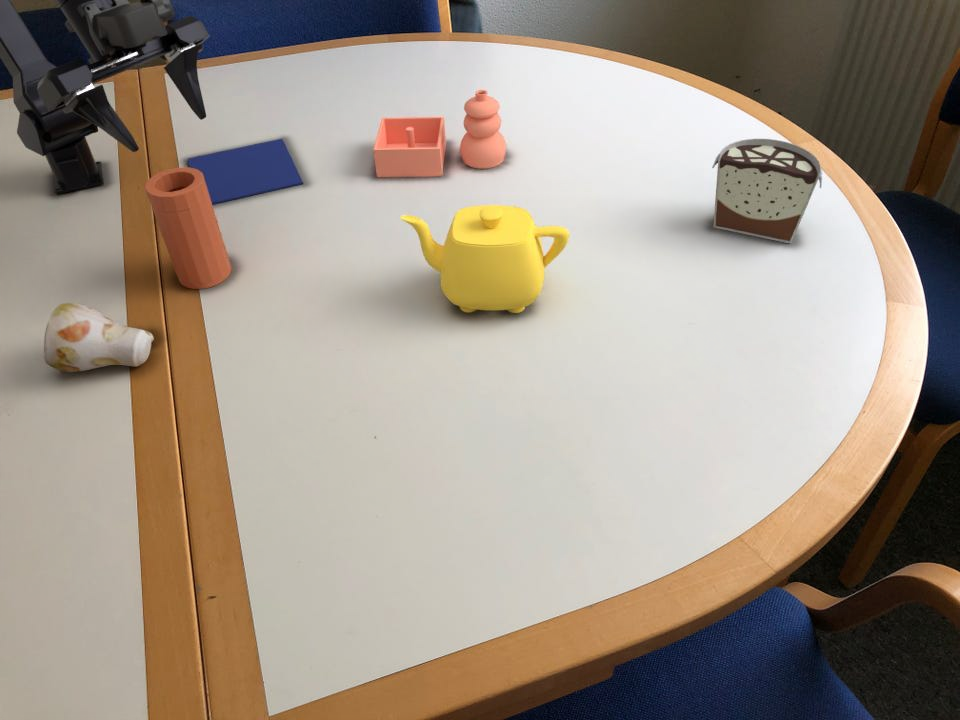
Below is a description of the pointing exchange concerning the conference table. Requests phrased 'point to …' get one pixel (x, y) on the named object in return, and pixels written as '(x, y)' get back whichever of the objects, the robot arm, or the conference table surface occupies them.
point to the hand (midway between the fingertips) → (171, 134)
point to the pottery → (439, 141)
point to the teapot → (491, 257)
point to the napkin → (247, 170)
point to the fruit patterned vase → (91, 340)
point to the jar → (189, 227)
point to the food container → (764, 187)
